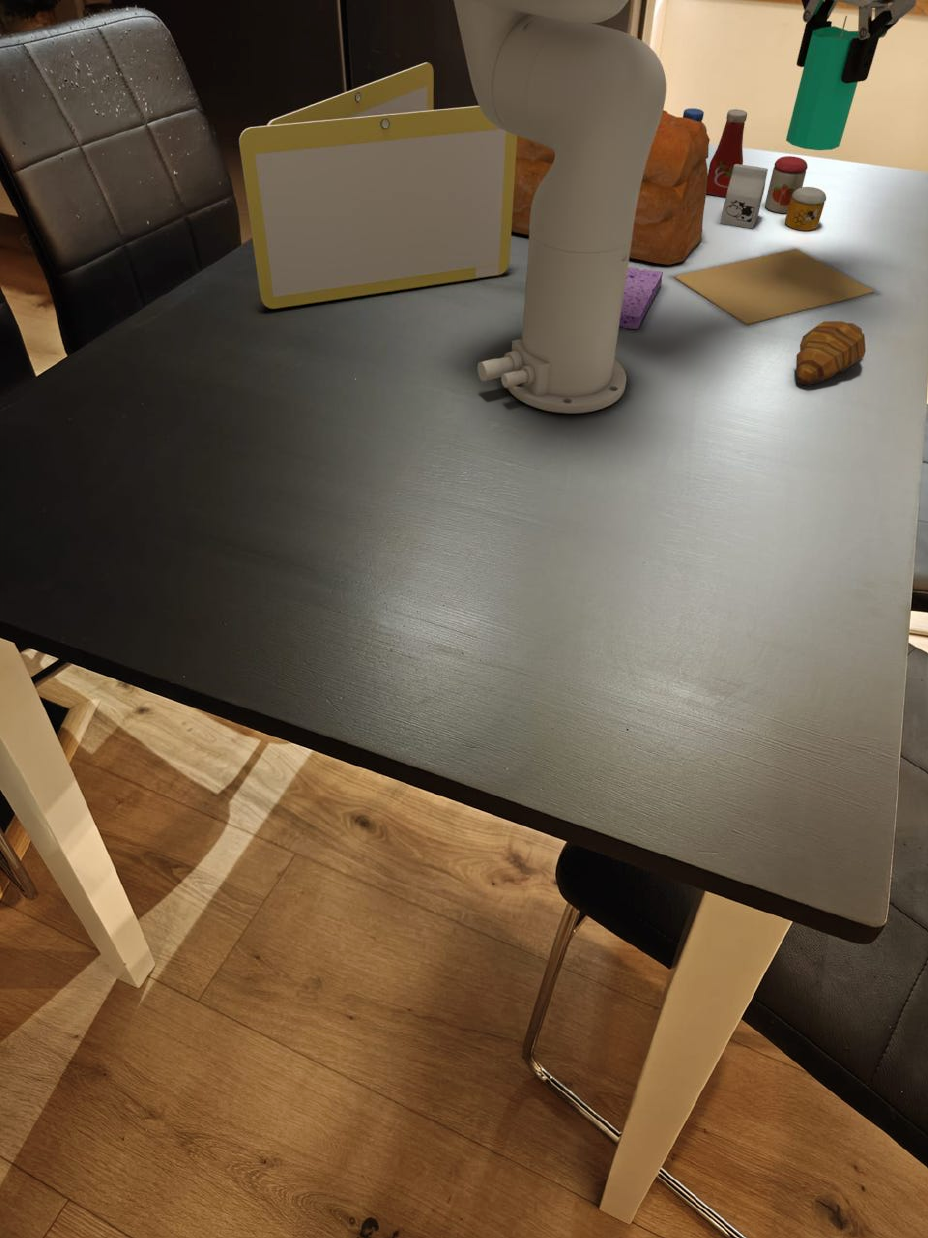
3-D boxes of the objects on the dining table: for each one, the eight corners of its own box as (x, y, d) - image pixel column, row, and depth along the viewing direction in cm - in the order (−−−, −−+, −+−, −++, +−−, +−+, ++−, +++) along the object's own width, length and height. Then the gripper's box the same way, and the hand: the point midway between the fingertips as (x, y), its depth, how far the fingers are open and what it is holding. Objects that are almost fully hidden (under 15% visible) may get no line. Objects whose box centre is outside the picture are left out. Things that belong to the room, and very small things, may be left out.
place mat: (746, 325, 104) (747, 323, 104) (673, 277, 113) (674, 275, 113) (873, 292, 111) (874, 290, 111) (795, 249, 120) (796, 248, 120)
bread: (675, 272, 114) (699, 143, 104) (486, 230, 123) (490, 106, 112) (707, 234, 123) (732, 111, 112) (529, 197, 132) (536, 80, 121)
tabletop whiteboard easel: (410, 211, 127) (407, 51, 113) (547, 247, 119) (561, 79, 105) (244, 307, 105) (214, 123, 91) (398, 358, 98) (391, 165, 84)
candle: (831, 153, 99) (868, 25, 90) (778, 143, 101) (808, 16, 93) (846, 139, 102) (883, 14, 94) (794, 129, 105) (825, 6, 96)
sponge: (661, 286, 111) (663, 271, 110) (637, 331, 103) (640, 315, 102) (605, 276, 113) (607, 261, 112) (578, 319, 105) (580, 304, 103)
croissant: (831, 400, 93) (847, 356, 89) (771, 378, 96) (783, 334, 92) (880, 351, 100) (896, 308, 97) (822, 332, 103) (835, 290, 100)
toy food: (623, 207, 130) (636, 114, 121) (645, 178, 138) (659, 90, 130) (813, 239, 123) (841, 143, 114) (825, 207, 131) (851, 115, 122)
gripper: (794, -154, 88) (750, 57, 101) (932, -135, 78) (863, 98, 90) (852, -156, 91) (802, 50, 104) (992, -138, 80) (917, 90, 93)
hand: (831, 71), depth 97 cm, fingers closed on candle, 6 cm apart
